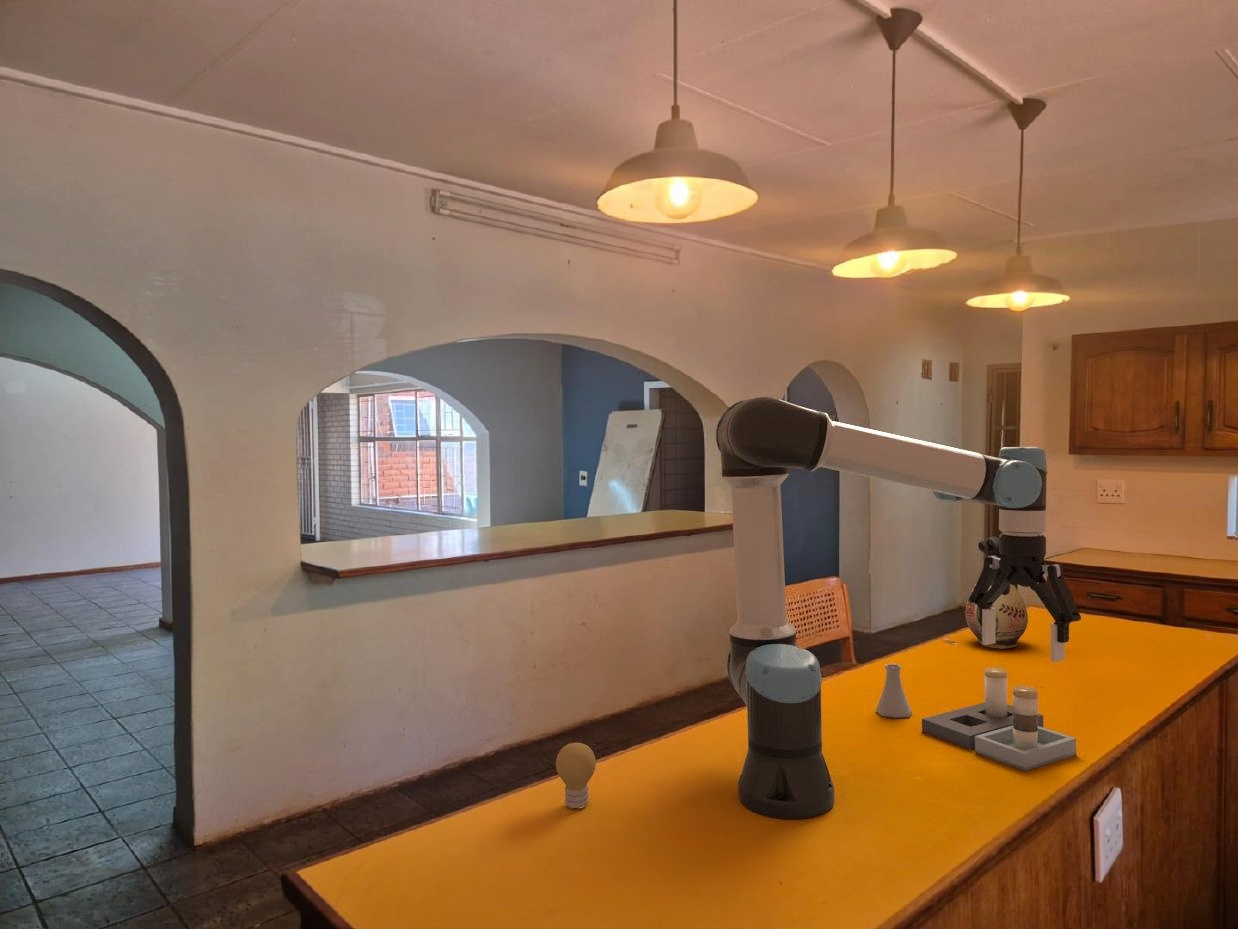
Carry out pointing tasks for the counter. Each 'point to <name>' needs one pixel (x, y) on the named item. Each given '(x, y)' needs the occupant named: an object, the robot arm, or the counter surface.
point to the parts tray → (1047, 752)
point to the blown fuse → (1025, 718)
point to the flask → (893, 695)
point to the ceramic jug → (1000, 608)
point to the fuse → (996, 692)
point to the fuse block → (967, 724)
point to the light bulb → (576, 772)
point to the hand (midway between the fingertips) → (1021, 652)
